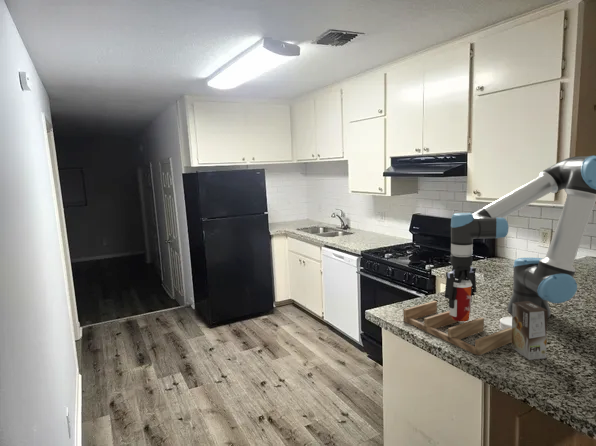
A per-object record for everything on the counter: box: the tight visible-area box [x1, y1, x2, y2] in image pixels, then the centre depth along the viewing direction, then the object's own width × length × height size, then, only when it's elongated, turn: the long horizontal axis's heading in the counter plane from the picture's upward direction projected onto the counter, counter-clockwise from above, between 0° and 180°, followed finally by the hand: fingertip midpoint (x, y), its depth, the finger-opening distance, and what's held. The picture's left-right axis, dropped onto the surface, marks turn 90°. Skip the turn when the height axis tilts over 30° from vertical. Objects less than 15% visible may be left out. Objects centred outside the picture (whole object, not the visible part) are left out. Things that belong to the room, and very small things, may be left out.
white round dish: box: [499, 316, 512, 331], centre depth 145 cm, size 10×10×4 cm
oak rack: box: [402, 300, 512, 357], centre depth 146 cm, size 35×18×5 cm, turn 28°
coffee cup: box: [452, 278, 472, 323], centre depth 147 cm, size 8×8×15 cm
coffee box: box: [511, 301, 548, 361], centre depth 126 cm, size 9×6×16 cm
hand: (460, 313), depth 147 cm, fingers closed on coffee cup, 7 cm apart
